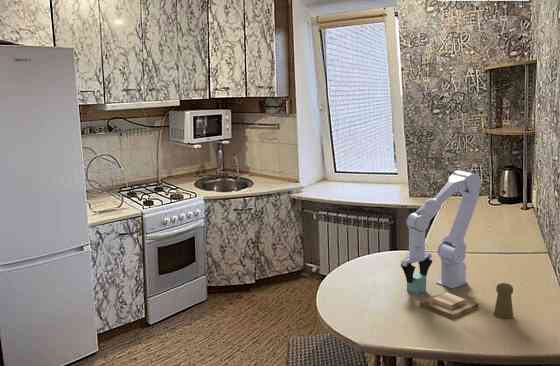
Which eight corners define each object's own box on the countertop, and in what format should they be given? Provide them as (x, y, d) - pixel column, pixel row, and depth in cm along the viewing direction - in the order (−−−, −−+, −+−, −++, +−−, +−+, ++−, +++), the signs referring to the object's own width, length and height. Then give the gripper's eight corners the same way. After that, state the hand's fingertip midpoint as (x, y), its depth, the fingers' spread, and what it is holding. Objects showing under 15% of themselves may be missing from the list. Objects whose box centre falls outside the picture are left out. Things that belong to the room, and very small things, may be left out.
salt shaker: (501, 320, 177) (503, 288, 175) (489, 313, 183) (491, 282, 181) (517, 317, 179) (518, 286, 177) (505, 310, 185) (506, 280, 183)
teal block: (415, 287, 208) (415, 272, 207) (426, 290, 204) (426, 275, 203) (406, 290, 205) (406, 275, 204) (417, 294, 201) (417, 278, 200)
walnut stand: (444, 295, 199) (445, 287, 198) (478, 307, 188) (478, 299, 187) (419, 305, 191) (419, 297, 191) (452, 318, 180) (452, 310, 179)
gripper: (421, 239, 209) (420, 272, 211) (395, 246, 201) (394, 281, 203) (436, 243, 203) (435, 277, 206) (410, 251, 195) (409, 286, 197)
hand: (416, 280), depth 204 cm, fingers open, 7 cm apart
